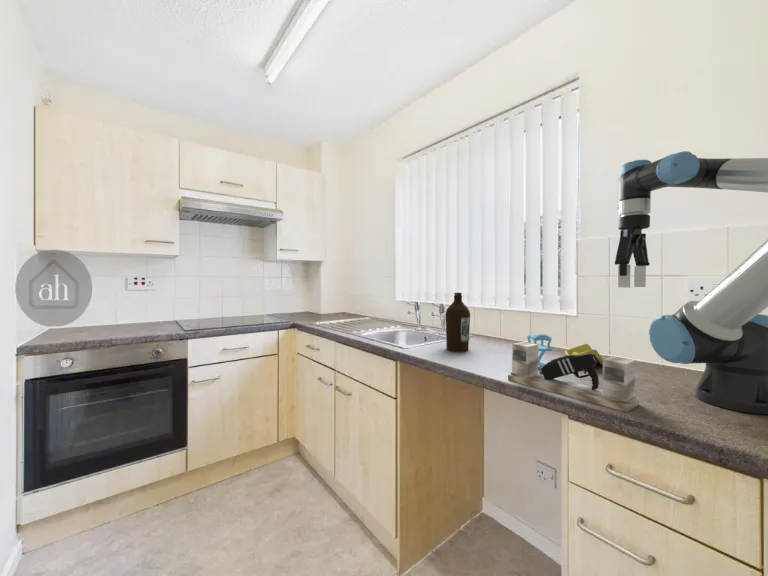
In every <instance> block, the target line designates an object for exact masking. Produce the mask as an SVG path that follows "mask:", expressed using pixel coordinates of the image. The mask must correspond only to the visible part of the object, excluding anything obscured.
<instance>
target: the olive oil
mask: <svg viewBox="0 0 768 576" xmlns="http://www.w3.org/2000/svg"><path fill="white" fill-rule="evenodd" d="M453 294H454V296H453V302H451V304H450V305H449V306H448V307H447V309H446V311H445V335H446V337H445V338H446V345H445V346H446V349H447V351H451V352H460V353H461V352H467V351H469V345H470V343H469V342H470V328H471V326H470V324H471V313H470V309H469V308H468V307H467V305H466V304H464V303H465V302H463V296H462V294H463V292H454V293H453Z"/></svg>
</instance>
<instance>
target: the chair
mask: <svg viewBox="0 0 768 576" xmlns="http://www.w3.org/2000/svg"><path fill="white" fill-rule="evenodd" d="M526 339H527V341H528V342H527V343H532V342H531V339H532V340H533V341H534V342H533V344H538V343H537V342H538V341H540V344H538V352H540V354H538V371H539V370H540V371H541V369H542V367H543V366H545V365H546V364H547V363H543V362H540V361H541V359H542V358H543V356H544V354H545V353H546V352H553V348H552V347H551V342H552V339H553V338H552V337H551V336H550V335H548V334H546V333H545V334H544V333H540V334H534V333H531V334H529V335H527V336H526ZM544 341H545V342H546V341H548V342H547V345H545V344H544Z"/></svg>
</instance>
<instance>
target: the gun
mask: <svg viewBox="0 0 768 576" xmlns="http://www.w3.org/2000/svg"><path fill="white" fill-rule="evenodd" d="M597 363H598V361H597V359H596V357H595V355H593V354H586V355H582V356H581V355H566V354H565V355H563V356H559V357H557V358H553V359H550V361H548V362H547V363H545V364H546V365H545V366H541V367H542V369H541V370H540V371H538V374H540V375H543V376H544V378H545V379H546V380H550V379H554V378H557V379H559V378H561V377H565V376H568V375H571V374H573V375H574V376H575V377H576V378H578V379H582V378H586V377H590V380H591V384H592V386H591V387H592V390H594V389H597V388H599V384H600V379H599V375H598V372H597V370H596V368H595V367H596V366H597ZM580 372H583V374H584V375H579V373H580ZM586 373H587V374H586Z"/></svg>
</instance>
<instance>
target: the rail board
mask: <svg viewBox="0 0 768 576" xmlns="http://www.w3.org/2000/svg"><path fill="white" fill-rule="evenodd" d="M538 345H539V343H537V344H534V342H533V343H532V342H531V343H528V342H527V341H521V342H520V341H519V342H516V343H512V349H511V350H512V353H511V357H512V359H511V372H510V374H507V380H508V381H511V382H514V383H519V384H522V385H525V386H528V387H529V386H530V387H532V388H537V389H540V390H544V391H548V392H551V393H554V394H559V395H563V396H566V397H570V398H574V399H577V400H580V401H583V402H584V401H585V402H588V403H592V404H596V405H599V406H604V407H607V408H610V409H614V410H617V411H622V412H625V413H629V412H630V411H632V410H634V409H635V408H636V407H638V406H639V405H640V398H638V397H636V396H635V395H636V394H635V393H636V391H635V389H636V388H635V387H636V384H635V383H636V359H629V358H625V357H619V356H610V357H607V358H604V359H603V358H602V359H603V364H602V382H601V383H602V384H601V388H599V387H598V388H597V389H594V390H592V386H590V385H586V384H582V383H579V382H578V383H577V382H573V381H569V380H564V379H559V378H554V379H550V380H546V379H545V378H544V376H543V375H540V373H539V370H538V367H539V365H538V357H539V351H538Z"/></svg>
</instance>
